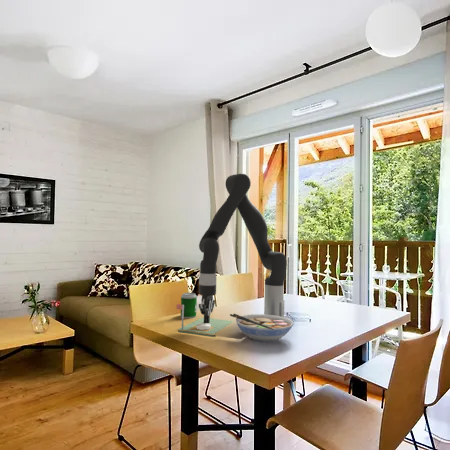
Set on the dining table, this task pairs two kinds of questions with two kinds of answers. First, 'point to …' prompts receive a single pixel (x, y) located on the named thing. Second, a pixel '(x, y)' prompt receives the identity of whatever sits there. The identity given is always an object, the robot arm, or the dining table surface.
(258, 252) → the robot arm
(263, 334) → the ramen bowl
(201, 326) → the white dome knob
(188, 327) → the putting board
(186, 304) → the soda can
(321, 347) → the dining table surface
